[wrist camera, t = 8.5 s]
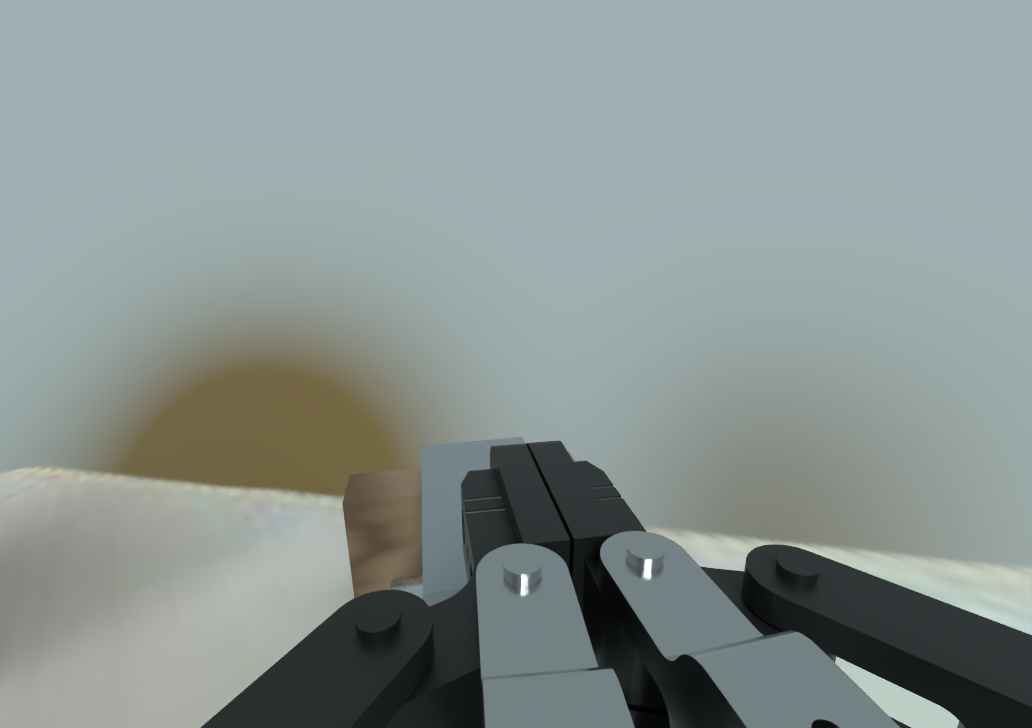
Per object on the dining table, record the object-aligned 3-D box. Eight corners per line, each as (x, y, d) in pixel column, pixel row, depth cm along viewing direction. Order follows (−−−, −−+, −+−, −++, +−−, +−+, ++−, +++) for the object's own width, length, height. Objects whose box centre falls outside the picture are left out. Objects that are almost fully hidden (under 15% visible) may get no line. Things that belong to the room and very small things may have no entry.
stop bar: (356, 609, 36) (342, 503, 34) (361, 572, 40) (350, 474, 38) (583, 576, 39) (584, 476, 36) (568, 544, 42) (568, 452, 40)
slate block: (584, 743, 24) (585, 571, 21) (438, 772, 23) (422, 593, 20) (525, 556, 37) (522, 436, 35) (431, 568, 36) (421, 446, 34)
